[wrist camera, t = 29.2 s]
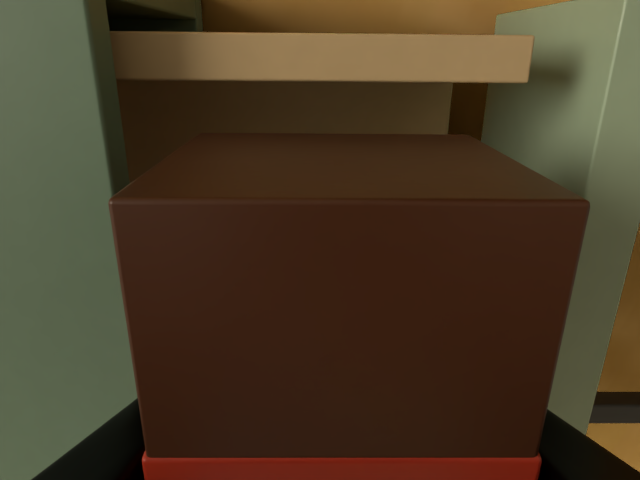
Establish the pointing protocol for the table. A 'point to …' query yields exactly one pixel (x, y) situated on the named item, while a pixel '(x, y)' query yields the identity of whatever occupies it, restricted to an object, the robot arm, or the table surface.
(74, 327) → the cabinet
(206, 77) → the drawer
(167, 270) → the chocolate bar
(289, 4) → the table surface
